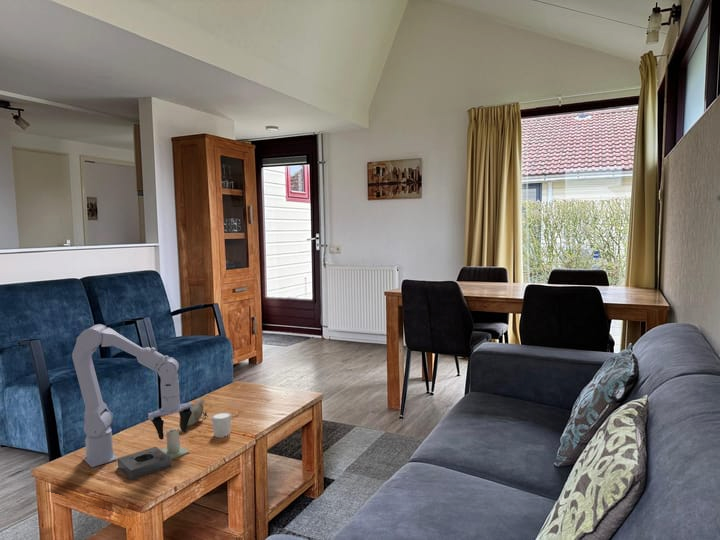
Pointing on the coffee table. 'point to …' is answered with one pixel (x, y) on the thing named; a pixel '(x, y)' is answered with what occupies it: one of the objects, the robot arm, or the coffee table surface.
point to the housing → (144, 463)
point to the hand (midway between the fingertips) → (172, 435)
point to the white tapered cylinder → (221, 424)
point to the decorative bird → (196, 413)
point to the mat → (174, 455)
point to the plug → (173, 440)
